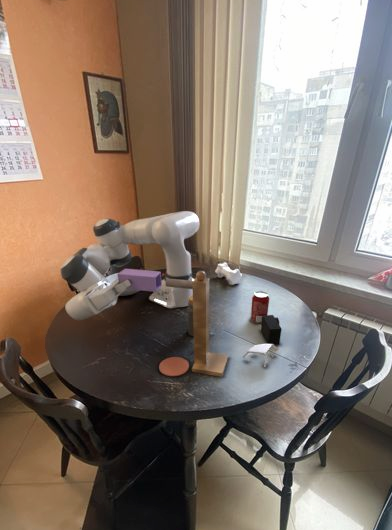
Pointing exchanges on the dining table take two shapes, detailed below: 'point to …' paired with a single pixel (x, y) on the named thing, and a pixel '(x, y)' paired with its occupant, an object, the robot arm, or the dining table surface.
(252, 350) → the white small piece
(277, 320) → the digital camera
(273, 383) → the dining table surface
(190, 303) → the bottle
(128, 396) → the dining table surface
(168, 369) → the coaster
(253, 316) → the soda can
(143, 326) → the dining table surface
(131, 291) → the serving bowl
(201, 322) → the cup stand
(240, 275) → the bone shaped toy
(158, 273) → the purple block
